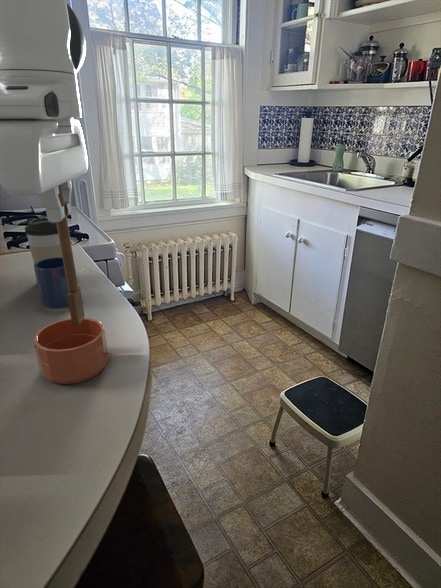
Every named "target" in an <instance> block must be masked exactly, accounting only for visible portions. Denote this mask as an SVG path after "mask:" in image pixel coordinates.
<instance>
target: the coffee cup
mask: <svg viewBox="0 0 441 588" xmlns="http://www.w3.org/2000/svg"><path fill="white" fill-rule="evenodd" d="M24 233H25V235H26V238H27V241H28V247H29V250H30V251H29V252H30V254H31V258H32V261H33V265H34V264H35V263H36V262H38V261H40V260H43V259H47V258H54V257H62V252H61V247H60V241H59V235H58V230H57V224H56V222H50V221H48V219H47V217H41V218H35V219H31V220H29V221H28V225H26V226H24Z"/></svg>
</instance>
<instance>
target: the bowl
mask: <svg viewBox="0 0 441 588" xmlns="http://www.w3.org/2000/svg"><path fill="white" fill-rule="evenodd" d="M33 346H34V350H35V356H36V360H37V363H38V367H39V372H40V373H41V375H42V376H43V377H44V378H46V379H47V380H48V381H50V382H52V383H55V384H60V385H70V384H77V383H82V382H84V381H88V380H90V379H92V378H94V377H95V376H97V375H98V374H100V373H101V372H102V370H103V369H104V368H105V366H107V363H108V360H109V353H108V344H107V337H106V330H105V326H104V323H102V322H101V321H100V320H98V319H94V318H90V317H84V318H83V320H82V322H81V323H80V325H79V326H72V320H71V317H69V318H64V319H60V320H56V321H53V322H51V323H49V324H47V325H45V326H44V327H42V328H41V329H38V331H37V332H36V334H34V336H33Z"/></svg>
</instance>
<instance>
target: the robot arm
mask: <svg viewBox="0 0 441 588" xmlns="http://www.w3.org/2000/svg"><path fill="white" fill-rule="evenodd" d="M85 36H86V35H85V32H84V30H83V27H82V25H81V23H80V20H79V19H78V16H77V14H76V13H75V11H74V10H73V9H72V7H71V6H70V4H68V2H67V0H0V186H1V187H2V188H3V190H4V191H5V192H6V194H8V195H9V196H14V197H17V196H18V197H22V196H24V197H26V196H27V197H28V196H37V197H38V198H39V201H40V202H41V204H42V206H43V207H44V209H45V213H46V218H47V219H48V221H50V222H60V221H62V220H63V219H64V218H65V214H64V206H61V204H60V200H59V197H58V194H59V188H58V186H59V185H61V186H62V192H63V198H64V204H65V210H66V216H67V217H69V216H70V215H71V214H72V213H73V210H72V203H71V201H72V193H73V192H72V191H73V184H72V180H73V179H76V178H78V177H80V176H82V175H84V174H86V173H87V172H88V168H89V161H88V160H89V159H88V154H87V148H86V144H85V143H86V142H85V138H84V133H83V129H82V127H81V123H80V121H79V119H81V118H82V117H83V115H82V108H81V101H80V92H79V86H78V84H79V83H78V77H77V73H78V72H79V71H80V69H81V68H82V66H83V64H84V62H85V57H86V52H87V41H86V37H85Z"/></svg>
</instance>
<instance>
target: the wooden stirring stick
mask: <svg viewBox="0 0 441 588" xmlns="http://www.w3.org/2000/svg"><path fill="white" fill-rule="evenodd" d="M58 188H59V194H58V197H59V200H60V204H61V206H64V214H65V218H64V219H63V220H62V221H60V222H56V224H57V230H58V235H59V241H60V247H61V252H62V258H63V264H64V269H65V275H66V281H67V286H68V291H69V293H68V294H67V298H68V304H69V306H68V308H69V315H70V318H71V320H72V326H79V325H80V323H81V322H82V320H83V318H86V315H85V309H84V303H83V297H82V292H81V286H79V283H78V276H77V271H76V264H75V260H74V254H73V249H72V248H73V247H72V240H71V235H70V228H69V223H68V216H66V210H65V204H64V198H63V192H62V186H61V185H59V186H58Z"/></svg>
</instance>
